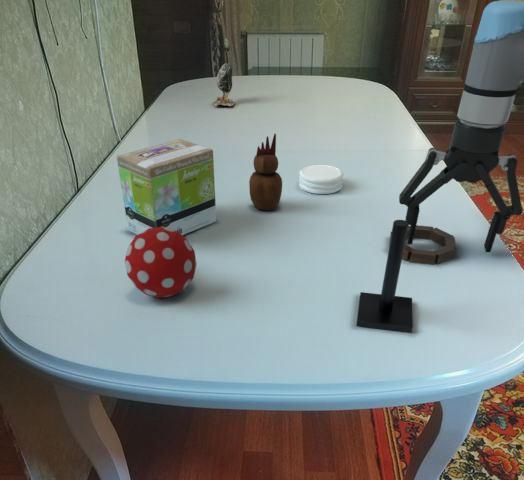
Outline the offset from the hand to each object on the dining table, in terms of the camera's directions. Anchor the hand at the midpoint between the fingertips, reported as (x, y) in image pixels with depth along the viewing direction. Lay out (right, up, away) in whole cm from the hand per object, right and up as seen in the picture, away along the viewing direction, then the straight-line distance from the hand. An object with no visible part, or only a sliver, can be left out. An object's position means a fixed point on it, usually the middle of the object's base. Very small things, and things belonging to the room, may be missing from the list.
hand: (448, 244), depth 92 cm
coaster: (-20, +19, +25) cm, 37 cm away
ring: (-4, 0, +2) cm, 5 cm away
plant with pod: (-47, +66, +83) cm, 116 cm away
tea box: (-52, +5, +9) cm, 53 cm away
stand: (-15, -14, -15) cm, 25 cm away
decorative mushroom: (-50, -8, -7) cm, 51 cm away
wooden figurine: (-33, +11, +16) cm, 39 cm away
